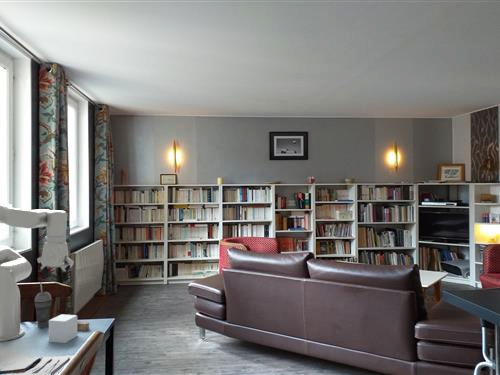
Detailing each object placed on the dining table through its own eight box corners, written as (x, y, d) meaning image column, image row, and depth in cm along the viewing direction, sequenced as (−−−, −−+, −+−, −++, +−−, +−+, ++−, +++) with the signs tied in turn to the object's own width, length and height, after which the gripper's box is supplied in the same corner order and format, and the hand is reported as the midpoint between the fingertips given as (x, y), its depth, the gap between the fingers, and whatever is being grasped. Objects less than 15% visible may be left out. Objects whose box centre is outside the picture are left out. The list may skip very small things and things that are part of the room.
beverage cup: (44, 328, 172) (44, 284, 172) (30, 327, 174) (30, 283, 174) (55, 323, 179) (55, 280, 179) (42, 322, 181) (41, 280, 181)
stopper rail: (66, 329, 171) (66, 322, 171) (69, 327, 173) (69, 321, 173) (86, 330, 169) (86, 324, 169) (89, 329, 171) (89, 322, 171)
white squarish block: (48, 341, 157) (48, 320, 157) (61, 334, 165) (61, 314, 165) (65, 342, 156) (65, 321, 156) (77, 335, 163) (77, 315, 163)
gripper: (32, 239, 161) (30, 279, 161) (67, 242, 158) (66, 283, 158) (45, 237, 169) (43, 275, 169) (79, 239, 165) (78, 279, 165)
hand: (54, 279), depth 163 cm, fingers open, 9 cm apart
